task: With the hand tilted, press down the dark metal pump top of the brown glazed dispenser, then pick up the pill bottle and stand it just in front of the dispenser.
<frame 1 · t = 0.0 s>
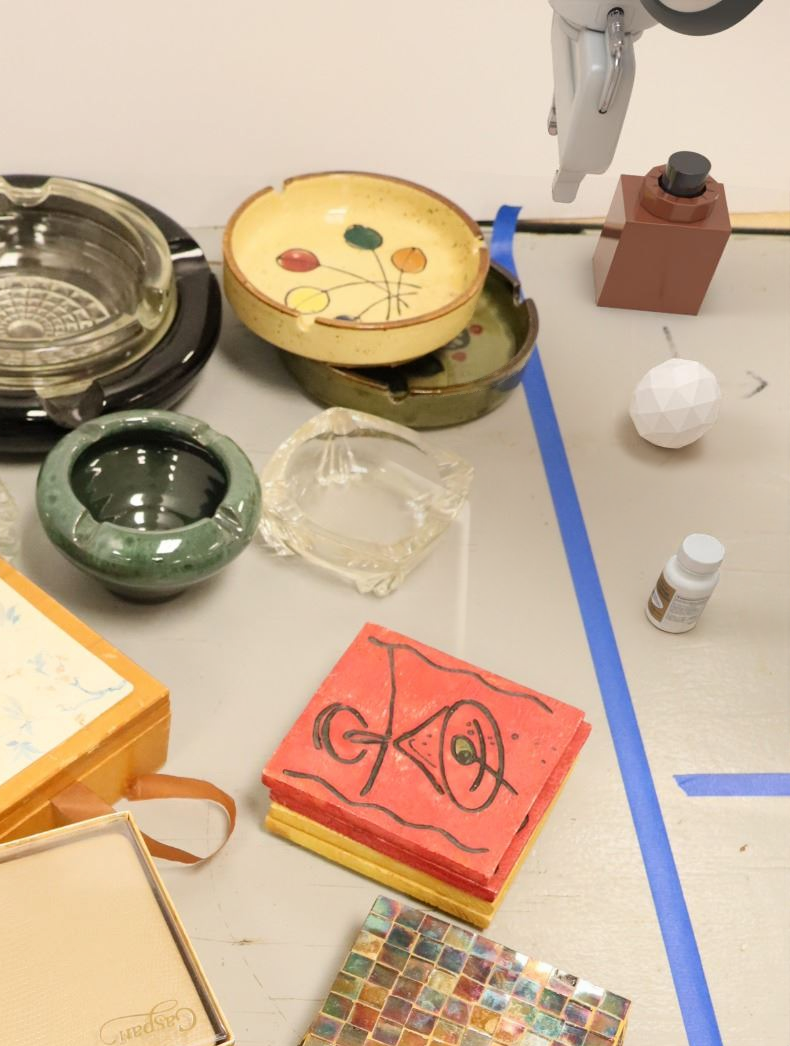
hand: (559, 163, 115), 24 cm above the table, tool pointing down, fingers open, 8 cm apart
pump: (685, 175, 136), point 12 cm above the table, slide at 0.1 cm
dispenser: (643, 287, 146), on the table
pill bottle: (669, 617, 122), on the table
geometric ball: (660, 438, 134), on the table
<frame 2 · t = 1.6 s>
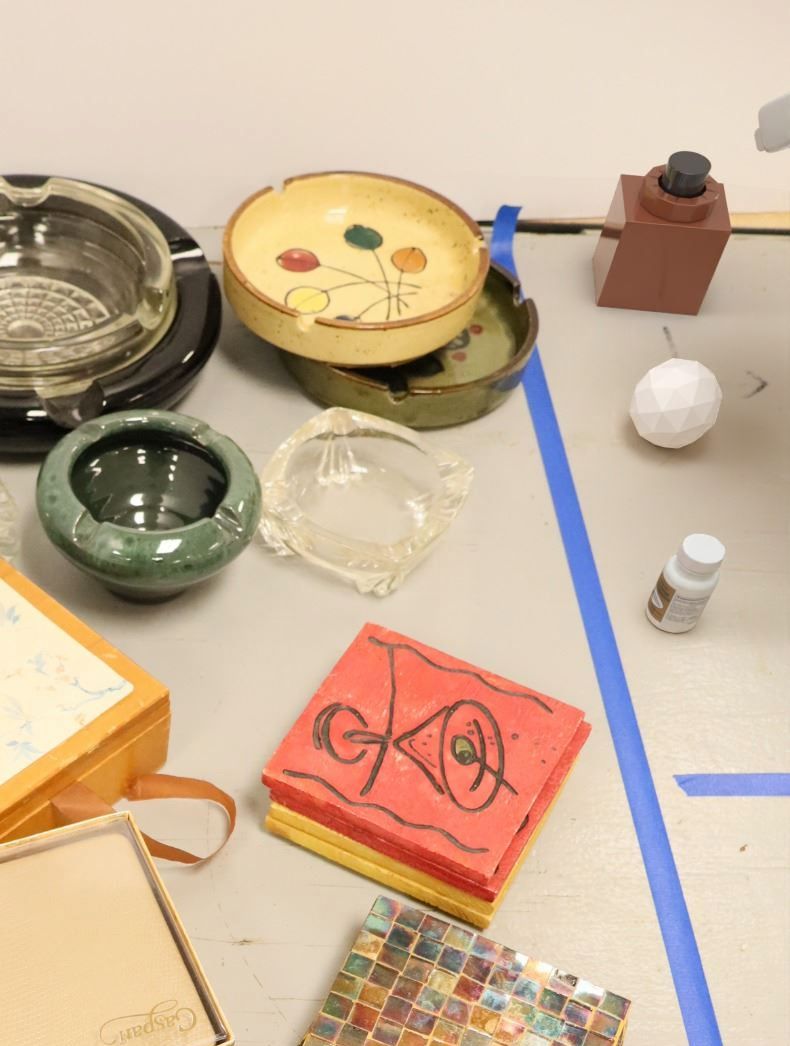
nothing on the table moved.
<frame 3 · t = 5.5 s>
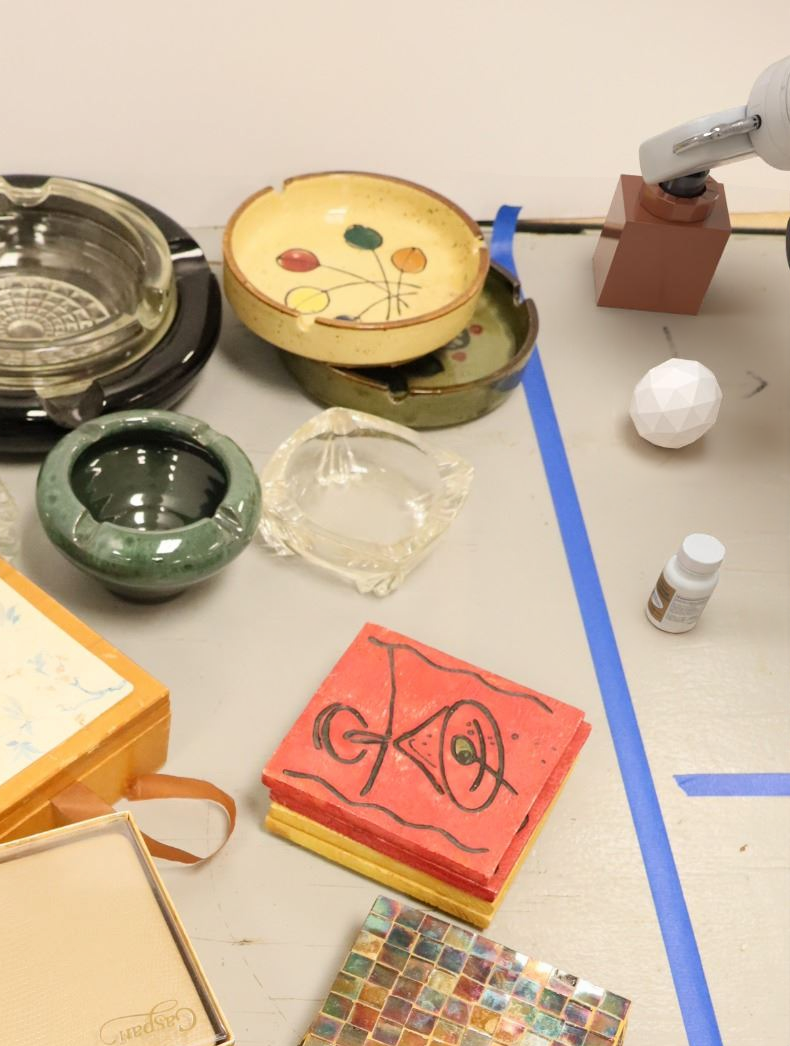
hand: (690, 159, 134), 13 cm above the table, tool tilted 45°, fingers closed, pressing on pump
pump: (684, 179, 136), point 11 cm above the table, slide at -0.3 cm, touching gripper
everything else where it was.
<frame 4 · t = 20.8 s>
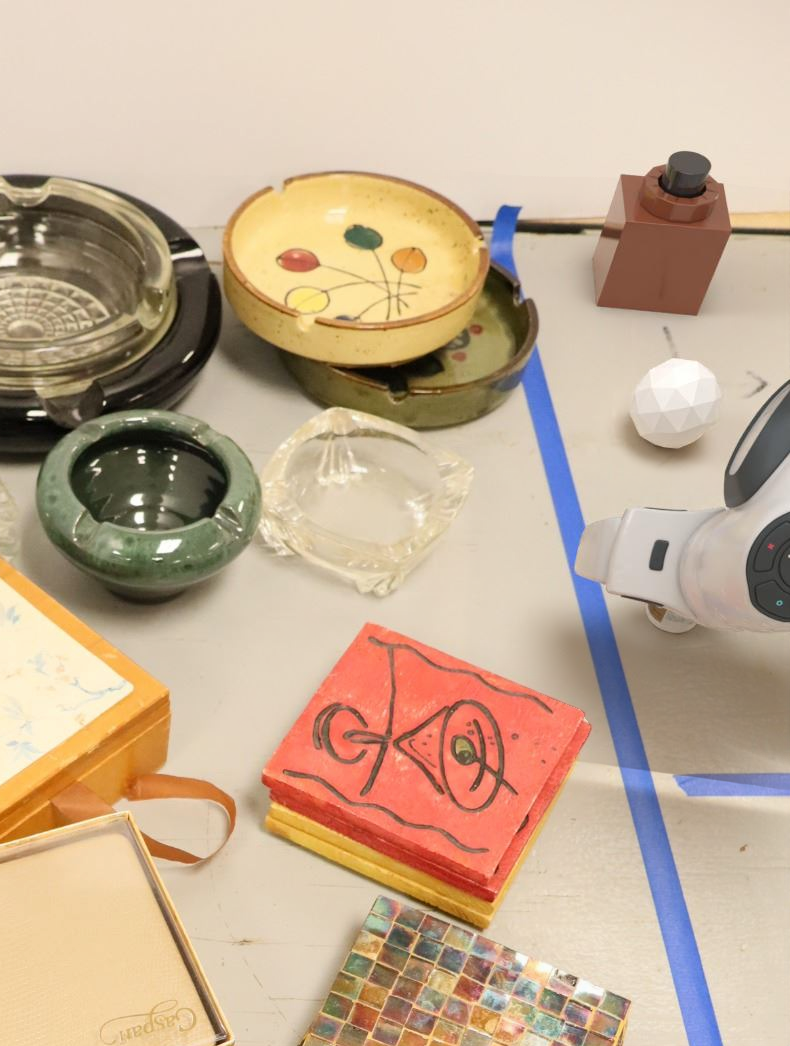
hand: (688, 572, 118), 4 cm above the table, tool tilted 45°, fingers closed on pill bottle, 4 cm apart
pump: (685, 175, 136), point 12 cm above the table, slide at 0.1 cm
pill bottle: (669, 617, 122), on the table, touching gripper
everything else where it was.
when the fingers open (4 cm above the table, at t = 31.9 s): pill bottle stays where it is, on the table.
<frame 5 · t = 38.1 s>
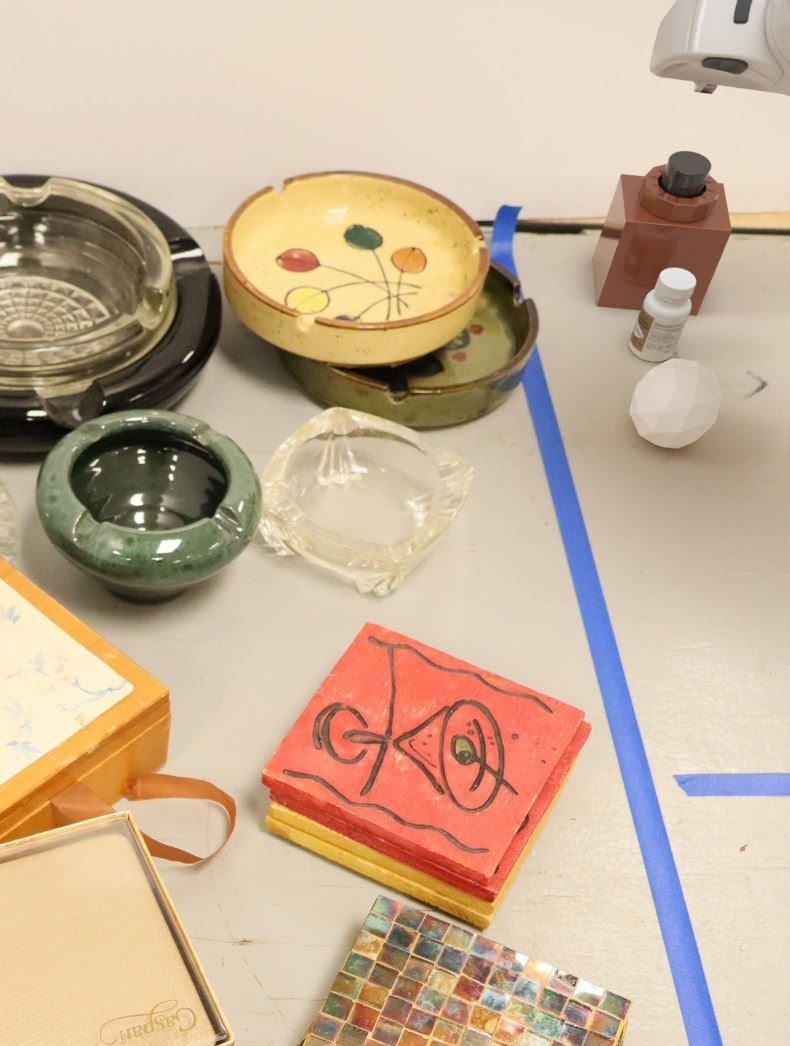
hand: (764, 90, 115), 27 cm above the table, tool tilted 45°, fingers open, 8 cm apart
pill bottle: (649, 350, 141), on the table
everything else where it was.
at the end: pump pushed in 1.3 cm at the most during the clip, back to where it started at the end; pill bottle inside the target area on the table beside the dispenser (0.6 cm from its centre), on the table; pill bottle tilted 0° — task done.
